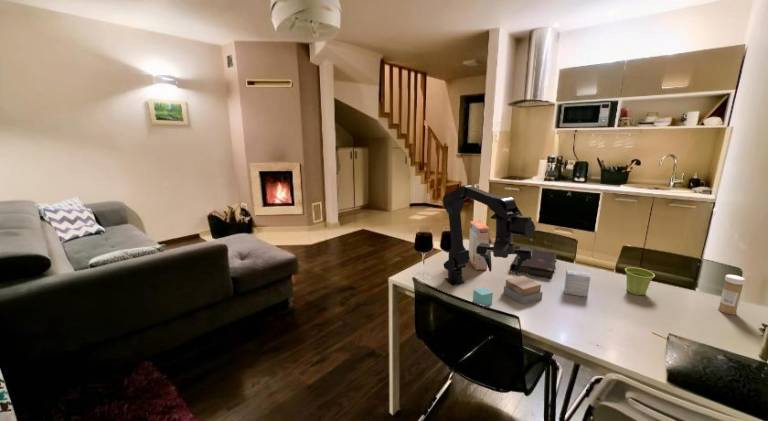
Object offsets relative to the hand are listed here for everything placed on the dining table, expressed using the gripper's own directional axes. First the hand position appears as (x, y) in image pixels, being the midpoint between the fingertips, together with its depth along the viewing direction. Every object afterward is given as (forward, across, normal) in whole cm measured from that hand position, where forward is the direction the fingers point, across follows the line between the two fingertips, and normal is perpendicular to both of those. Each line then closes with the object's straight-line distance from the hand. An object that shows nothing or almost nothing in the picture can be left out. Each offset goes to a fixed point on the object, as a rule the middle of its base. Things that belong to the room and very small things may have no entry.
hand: (503, 272), depth 118 cm
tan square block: (+10, +6, +11) cm, 16 cm away
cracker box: (+11, -18, +35) cm, 41 cm away
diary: (+13, +8, +46) cm, 48 cm away
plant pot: (+15, +46, +36) cm, 60 cm away
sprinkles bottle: (+16, +71, +32) cm, 79 cm away
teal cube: (+13, -7, -2) cm, 15 cm away
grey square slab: (+13, +6, +11) cm, 18 cm away
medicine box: (+14, +24, +23) cm, 36 cm away
